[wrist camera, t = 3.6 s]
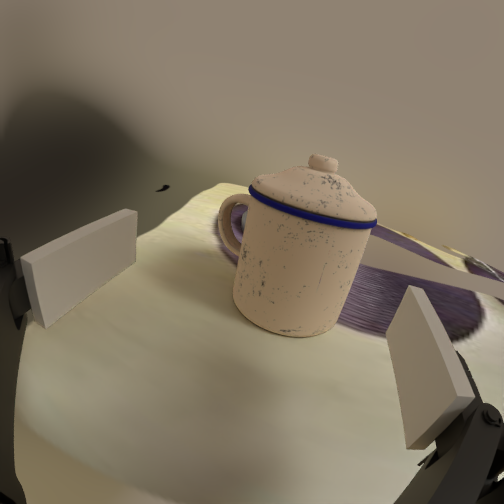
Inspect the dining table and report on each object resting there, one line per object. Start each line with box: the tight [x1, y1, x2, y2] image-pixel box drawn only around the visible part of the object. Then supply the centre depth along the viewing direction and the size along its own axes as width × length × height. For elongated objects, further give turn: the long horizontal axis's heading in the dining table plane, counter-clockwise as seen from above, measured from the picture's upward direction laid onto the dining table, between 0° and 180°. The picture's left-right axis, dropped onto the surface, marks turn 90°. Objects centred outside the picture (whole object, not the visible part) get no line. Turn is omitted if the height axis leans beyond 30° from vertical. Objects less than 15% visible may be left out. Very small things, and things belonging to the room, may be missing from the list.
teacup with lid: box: [218, 154, 377, 337], centre depth 21 cm, size 12×9×12 cm
